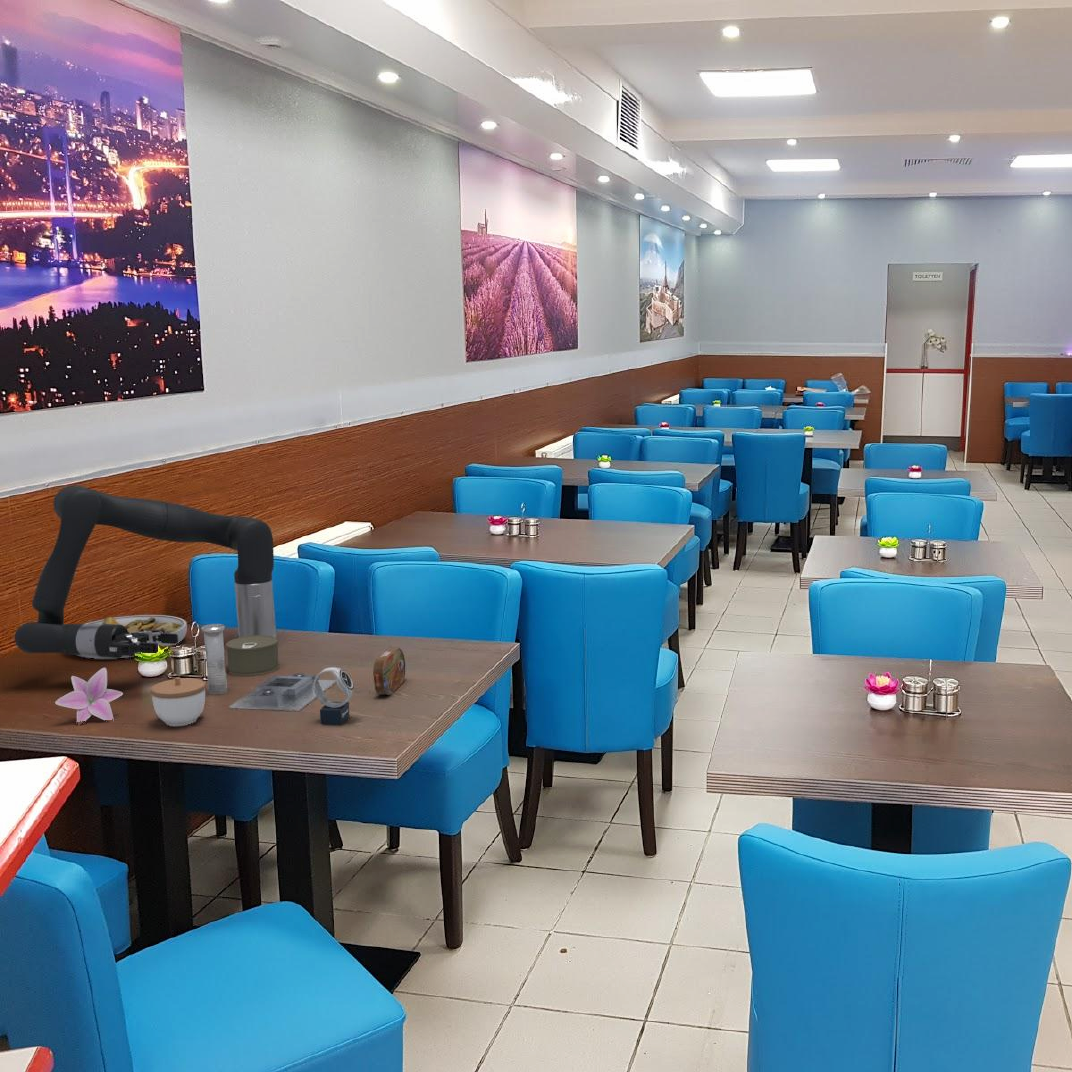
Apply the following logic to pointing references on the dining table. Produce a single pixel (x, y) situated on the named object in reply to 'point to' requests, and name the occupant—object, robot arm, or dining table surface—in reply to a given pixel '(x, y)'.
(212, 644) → the steel pin
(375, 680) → the tin
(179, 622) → the bowl
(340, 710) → the watch
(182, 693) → the lidded jar
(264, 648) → the can
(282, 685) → the grey fixture plate
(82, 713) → the lily
